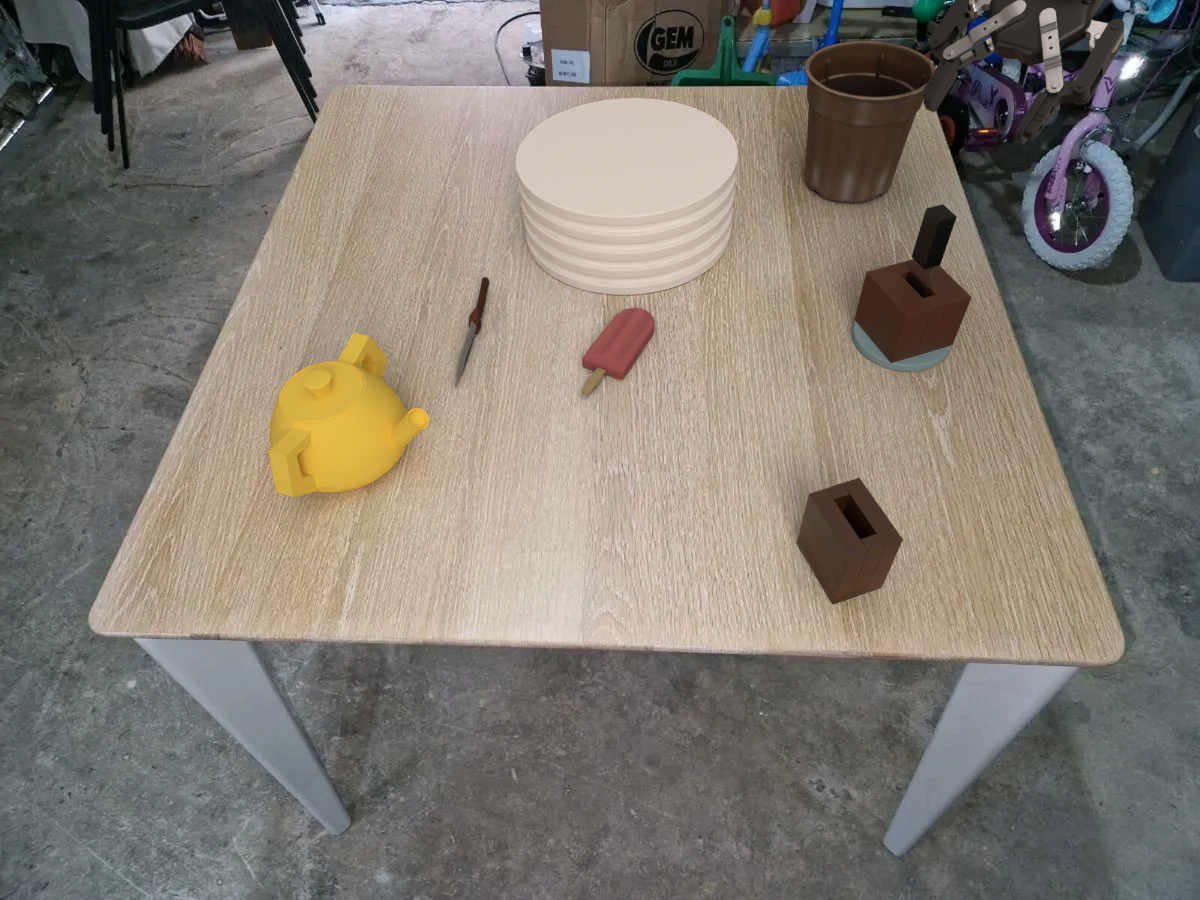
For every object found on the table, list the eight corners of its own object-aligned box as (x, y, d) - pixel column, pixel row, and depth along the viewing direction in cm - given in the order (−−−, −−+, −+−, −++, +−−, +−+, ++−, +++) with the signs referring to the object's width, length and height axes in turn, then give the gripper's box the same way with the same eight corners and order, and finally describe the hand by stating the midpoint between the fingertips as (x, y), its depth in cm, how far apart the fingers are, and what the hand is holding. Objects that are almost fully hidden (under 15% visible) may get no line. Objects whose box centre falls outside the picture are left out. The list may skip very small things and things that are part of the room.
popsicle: (562, 381, 89) (623, 302, 97) (563, 391, 90) (623, 311, 98) (604, 396, 87) (663, 314, 95) (605, 406, 88) (663, 324, 96)
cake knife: (903, 321, 93) (941, 202, 81) (917, 337, 91) (959, 218, 79) (888, 325, 93) (924, 206, 81) (902, 342, 91) (941, 222, 79)
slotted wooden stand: (915, 298, 97) (932, 244, 91) (969, 356, 90) (993, 302, 84) (834, 321, 95) (847, 266, 89) (884, 382, 89) (901, 328, 82)
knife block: (842, 527, 77) (859, 477, 70) (881, 587, 72) (903, 539, 66) (795, 543, 76) (808, 493, 70) (832, 604, 71) (849, 557, 65)
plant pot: (783, 151, 120) (798, 40, 107) (892, 148, 119) (921, 36, 106) (795, 214, 109) (814, 99, 97) (915, 212, 108) (949, 96, 96)
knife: (463, 396, 90) (458, 377, 88) (450, 395, 91) (444, 377, 88) (495, 292, 102) (491, 273, 100) (483, 291, 102) (479, 272, 100)
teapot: (403, 545, 78) (373, 477, 69) (241, 509, 82) (194, 440, 73) (478, 400, 90) (460, 326, 81) (333, 374, 94) (302, 301, 85)
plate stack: (574, 321, 98) (566, 242, 89) (498, 205, 114) (485, 130, 105) (770, 255, 104) (781, 175, 95) (671, 155, 121) (673, 79, 112)
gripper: (1001, -109, 66) (890, 79, 70) (1181, -73, 59) (1047, 134, 63) (1011, -55, 72) (909, 115, 76) (1176, -17, 65) (1054, 168, 69)
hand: (972, 123), depth 69 cm, fingers open, 8 cm apart
